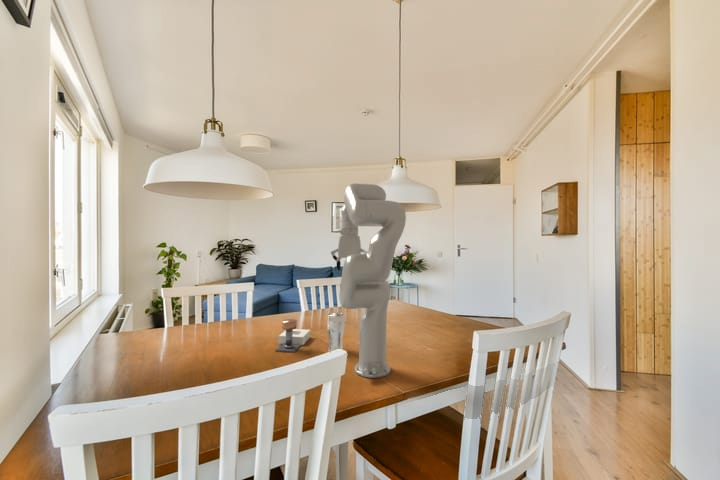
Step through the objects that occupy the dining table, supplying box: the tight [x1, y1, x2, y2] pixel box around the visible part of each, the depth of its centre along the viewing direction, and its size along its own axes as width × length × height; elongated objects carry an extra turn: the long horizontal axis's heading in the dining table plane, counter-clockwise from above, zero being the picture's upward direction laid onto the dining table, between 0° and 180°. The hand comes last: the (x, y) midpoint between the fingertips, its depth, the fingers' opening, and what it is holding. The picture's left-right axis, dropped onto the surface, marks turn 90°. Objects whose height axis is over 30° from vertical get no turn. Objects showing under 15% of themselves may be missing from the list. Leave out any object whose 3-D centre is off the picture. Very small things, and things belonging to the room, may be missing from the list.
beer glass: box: [326, 312, 345, 352], centre depth 129 cm, size 7×7×15 cm
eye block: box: [277, 328, 311, 346], centre depth 141 cm, size 11×11×4 cm
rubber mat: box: [275, 344, 302, 354], centre depth 130 cm, size 8×8×1 cm
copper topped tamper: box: [281, 318, 298, 348], centre depth 131 cm, size 6×6×11 cm
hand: (349, 270), depth 142 cm, fingers open, 9 cm apart
